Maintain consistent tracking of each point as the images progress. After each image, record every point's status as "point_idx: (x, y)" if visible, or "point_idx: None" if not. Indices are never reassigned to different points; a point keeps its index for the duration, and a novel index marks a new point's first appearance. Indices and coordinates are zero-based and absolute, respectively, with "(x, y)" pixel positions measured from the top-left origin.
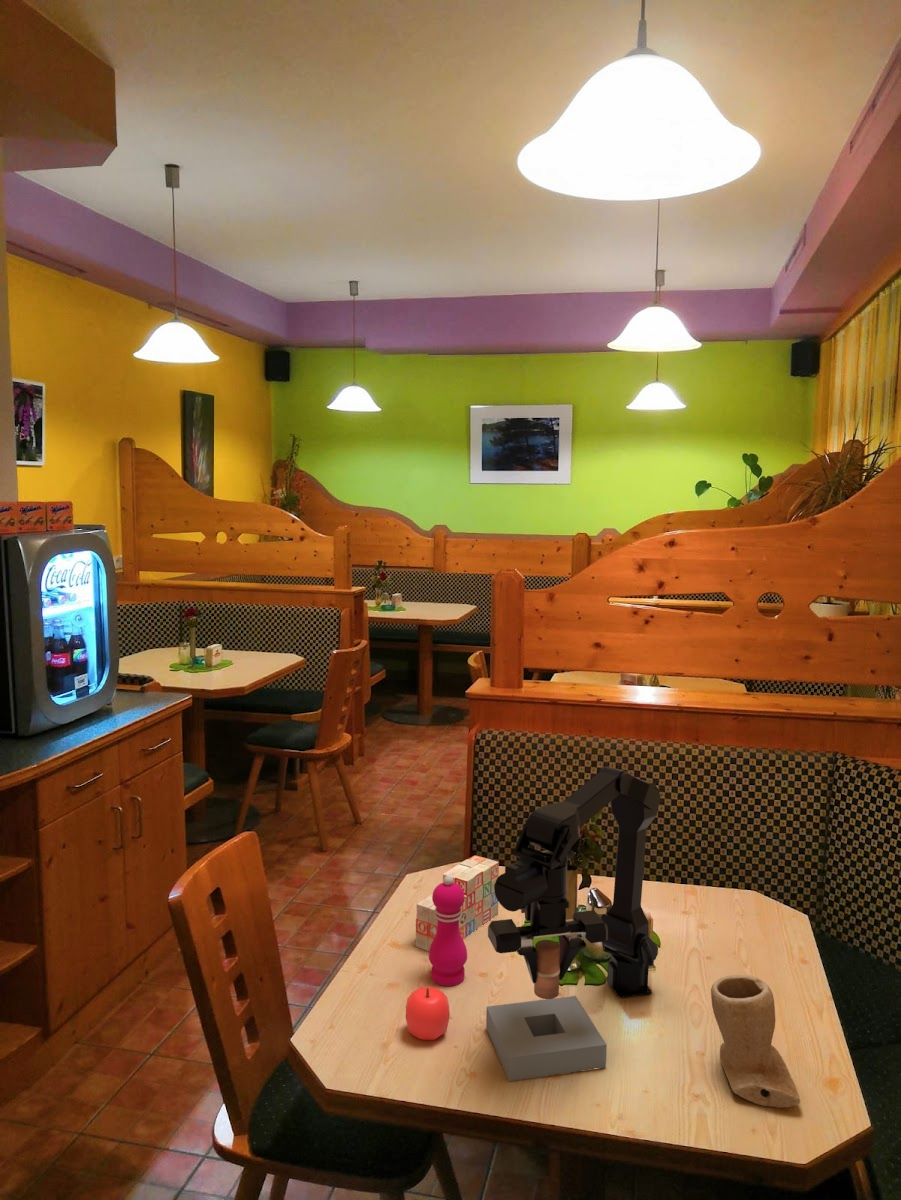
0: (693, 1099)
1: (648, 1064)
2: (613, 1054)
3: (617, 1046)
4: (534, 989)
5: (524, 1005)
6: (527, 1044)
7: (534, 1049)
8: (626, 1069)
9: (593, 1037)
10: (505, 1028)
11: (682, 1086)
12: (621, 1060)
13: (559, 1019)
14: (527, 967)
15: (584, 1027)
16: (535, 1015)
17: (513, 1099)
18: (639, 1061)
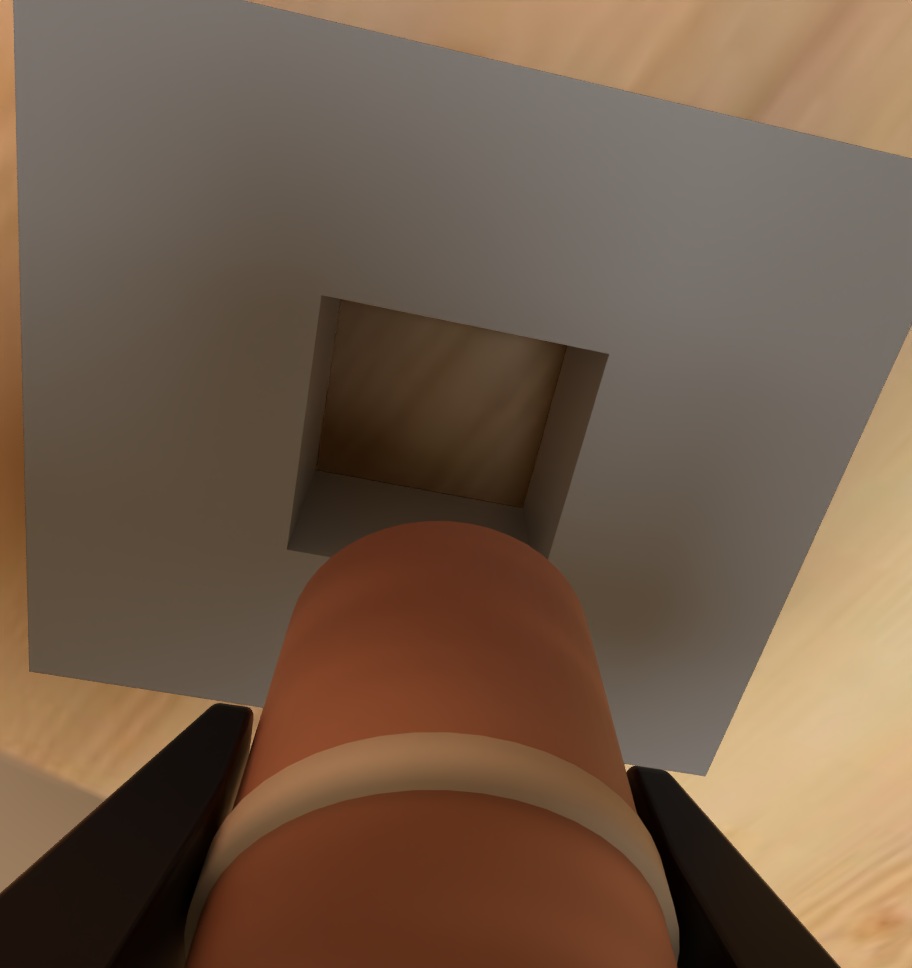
0: (857, 932)
1: (884, 721)
2: (788, 598)
3: (865, 551)
4: (284, 639)
5: (415, 112)
6: (203, 606)
7: (231, 662)
8: (754, 712)
9: (681, 697)
10: (102, 375)
11: (887, 871)
12: (787, 651)
13: (595, 440)
14: (72, 832)
15: (702, 594)
16: (434, 313)
17: (81, 689)
18: (864, 689)
